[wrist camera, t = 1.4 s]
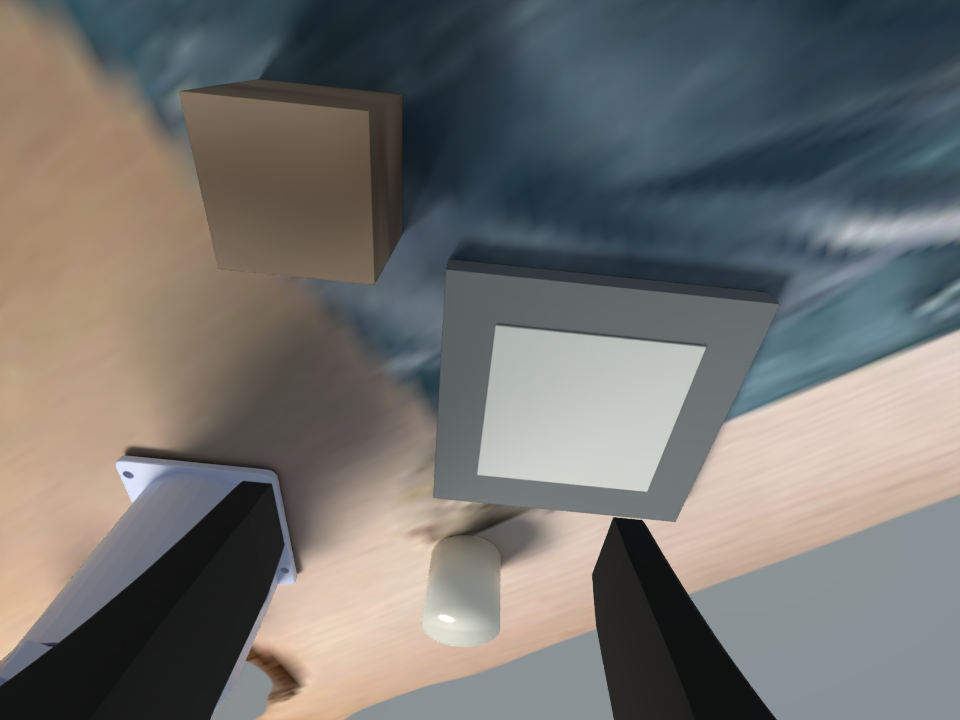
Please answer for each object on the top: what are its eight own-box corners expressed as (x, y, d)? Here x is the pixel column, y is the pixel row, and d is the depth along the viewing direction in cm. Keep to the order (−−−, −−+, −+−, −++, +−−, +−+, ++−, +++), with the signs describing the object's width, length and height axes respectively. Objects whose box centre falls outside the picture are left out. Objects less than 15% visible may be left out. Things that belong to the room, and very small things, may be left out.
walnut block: (402, 233, 18) (374, 284, 14) (279, 220, 18) (218, 269, 14) (403, 93, 15) (368, 111, 12) (260, 78, 15) (178, 91, 11)
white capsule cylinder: (496, 580, 29) (495, 650, 26) (430, 574, 29) (420, 642, 26) (504, 538, 27) (504, 608, 24) (432, 531, 27) (422, 600, 24)
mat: (669, 505, 25) (675, 523, 24) (435, 482, 25) (432, 499, 24) (767, 292, 18) (781, 305, 17) (448, 259, 18) (445, 270, 17)
